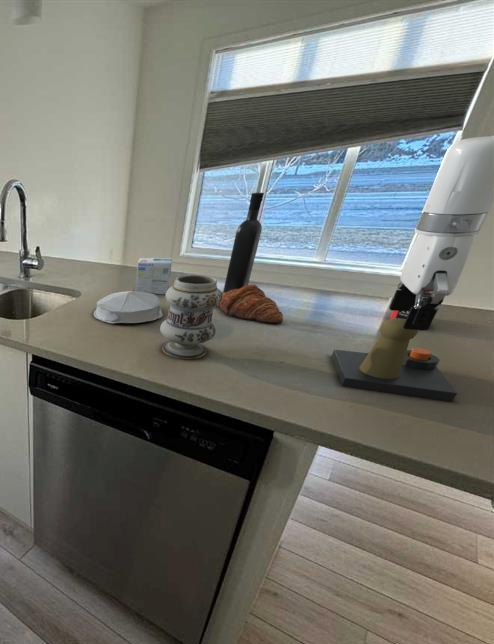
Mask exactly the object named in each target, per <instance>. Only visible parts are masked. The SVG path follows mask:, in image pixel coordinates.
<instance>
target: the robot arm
mask: <svg viewBox="0 0 494 644" xmlns="http://www.w3.org/2000/svg"><path fill="white" fill-rule="evenodd" d="M493 204H494V134H493V135H490V136H489V135H488V136H477V137H468V138H464V139H460V140H457V141H455V142H454V143H452V144H451V145H450V146H449V147H448V148H447V150H446V152H445V154H444V156H443V159H442V161H441V163H440V167H439V169H438V171H437V173H436V176H435V179H434V181H433V184H432V186H431V188H430V191H429V194H428V196H427V197H426V201H425V204H424V206H423V208H422V211H421V213H420V216H419V218H418V219H417V220H418V221H417V223H416V226H415V227H414V233H415V234H418V236H417V237H416V239H415V241H414V243H413V245H412V247H411V249H410V251H409V253H408V256H407V258H406V261H405V263H404V265H403V268H402V271H401V273H400V282H399V283H398V285H397V288H396V290H395V292H394V295H393V297H392V299H391V302H390V304H389V307H388V309H389V311H393V310H394V311H409V314H408V316H407V318H406V320H405V323H404V325H403V328H404V329H411V330H419V331H428V330H429V329H430V326H431V324H432V323H433V321H434V319H435V317H436V315H437V313H438V311H439V310H440V307H441V305H442V303H443V302H444V299H445V297H446V296H447V297H448V296H450V295H452V294H453V293H454V292H455V289H456V287H457V284H458V282H459V279H460V277H461V275H462V273H463V270H464V267H465V266H466V263H467V261H468V257H469V255H470V251H471V248H472V245H473V241H474V237H475V236H476V235H478V234H480V232H481V229H482V227H483V225H484V223H485V221H486V218H487V216H488V214H489V212H490V211H491V208H492V206H493ZM430 290H433V291H430ZM423 296H431V297H427V298H426V299H425V300H423ZM443 298H444V299H443ZM414 304H415V307H413V306H414ZM440 304H441V305H440ZM437 310H438V311H437ZM436 312H437V313H436ZM435 314H436V315H435ZM434 316H435V317H434ZM433 318H434V319H433ZM432 320H433V321H432ZM431 322H432V323H431Z"/></svg>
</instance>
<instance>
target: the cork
mask: <svg viewBox="0 0 494 644" xmlns="http://www.w3.org/2000/svg"><path fill="white" fill-rule="evenodd" d="M405 320H406V319H401V318H392V319H390V318H387V319H386V320H385V321H383V322H382V324H380V327H379V333H380V336H379V337H378V338H377V340H376V341H375V343H374V345H373V346H372V348H371V349H370V351H369V352H368V353H369V354H368V355H367V357H366V358H365V360H364V361H363V363H362V364H361V366H360V370H361V371H362V372H363V373H365V374H368V375H370V376H373V377H377V378H383V379H395V378H398V377H399V375H400V372H401V368H402V365H403V361H404V358H405V355H406V351H407V350H408V347H409V345H410V340H412V339H414V338H415V337H416V336H417V334H418V333H419V331H420V330H411V329H404V328H403V325H404V323H405Z"/></svg>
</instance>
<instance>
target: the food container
mask: <svg viewBox="0 0 494 644" xmlns="http://www.w3.org/2000/svg"><path fill="white" fill-rule="evenodd" d="M161 302H162V301H161V299H160V297H159V296H158V295H157V294H150V293H145V292H137V291H135V290H127V291H119V292H112V293H111V294H108V295H105V296H104V297H102V298H100V299H99V300H98V301H96V309H95V310H94V311H93V316H94V318H95V319H97V320H99V321H101V322H106V323H107V324H108V323H109V324H120V323H121V324H138V323H145V322H151V321H152V322H153V321H156V320H157V319H160V318H162V317H163V312H162V309H161Z"/></svg>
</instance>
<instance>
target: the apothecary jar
mask: <svg viewBox="0 0 494 644" xmlns="http://www.w3.org/2000/svg"><path fill="white" fill-rule="evenodd" d="M217 284H218V281H217V278H215V277H213V276H210V275H204V274H185V275H179V276H177V277H176V278H175V280H174V284H173V285H171V286H170V287H168V290H167V292H166V294H165V300H166V301H167V303H169V307H168V313H167V317H166V318H165V320H164V321H162V323H160V329H159V330H160V334H161V335H162V337H164V338H165V339H166V340H168V342H165V343H164V344H163V346H162V352H163V353H164V354H166V355H167V356H170V357H172V358H175V359H182V360H195V359H199V358H202V357H204V356H205V355H206V354H207V349H206V348H205V347H204V346H203V345H202V344H204V343H207V342H208V341H210V340H212V339H213V338H214V337H215V335H216V326H215V324H214V323H213V322H212V320H213V316H214V315H213V314H214V309H215V307H216V305H218V304H219V303H220V302H221V300H222V293H221V292H222V291H221V290H220V289H219V288H218V285H217Z"/></svg>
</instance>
